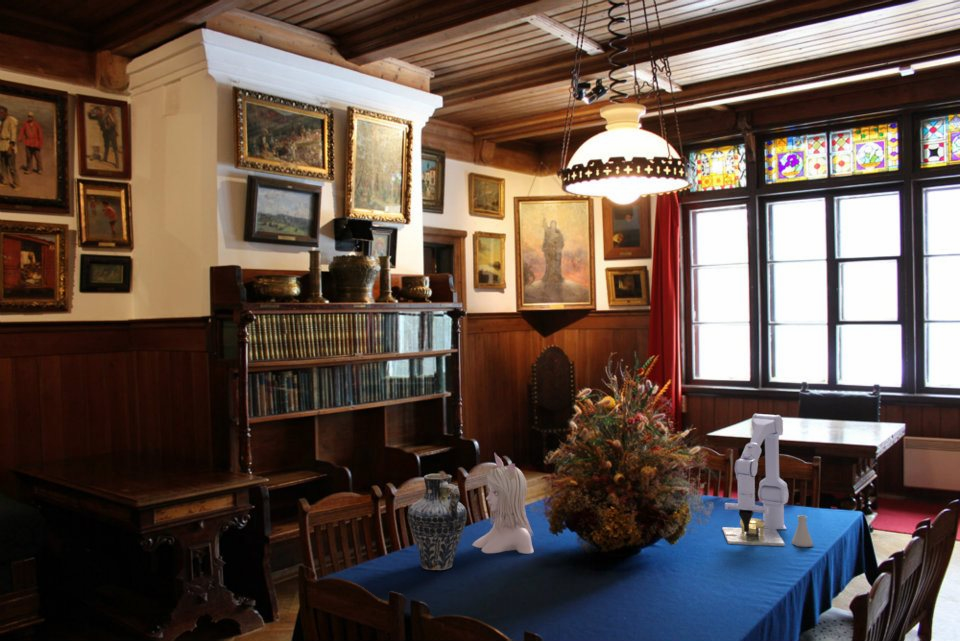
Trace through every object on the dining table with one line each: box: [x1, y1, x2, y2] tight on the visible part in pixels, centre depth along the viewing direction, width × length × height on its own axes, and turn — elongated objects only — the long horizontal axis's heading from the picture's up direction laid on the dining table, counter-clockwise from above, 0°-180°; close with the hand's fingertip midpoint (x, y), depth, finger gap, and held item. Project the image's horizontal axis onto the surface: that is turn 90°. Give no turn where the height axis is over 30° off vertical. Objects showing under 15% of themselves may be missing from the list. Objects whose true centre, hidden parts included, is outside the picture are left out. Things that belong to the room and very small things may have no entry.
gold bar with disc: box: [739, 517, 765, 535], centre depth 281 cm, size 15×8×5 cm, turn 161°
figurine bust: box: [471, 452, 535, 555], centre depth 281 cm, size 26×20×32 cm
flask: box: [791, 514, 814, 548], centre depth 275 cm, size 7×7×10 cm
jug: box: [407, 472, 468, 571], centre depth 258 cm, size 21×19×30 cm
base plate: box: [722, 526, 786, 547], centre depth 284 cm, size 18×19×4 cm
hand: (746, 531), depth 277 cm, fingers closed
